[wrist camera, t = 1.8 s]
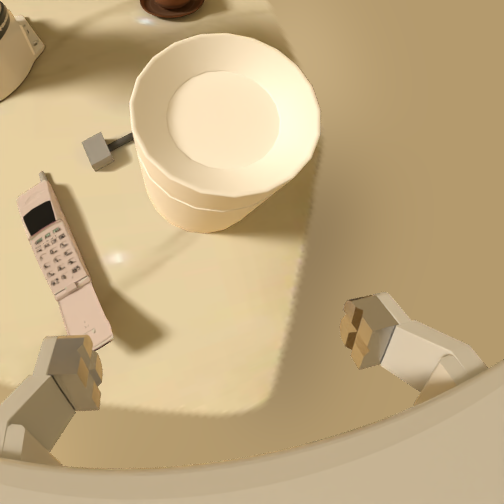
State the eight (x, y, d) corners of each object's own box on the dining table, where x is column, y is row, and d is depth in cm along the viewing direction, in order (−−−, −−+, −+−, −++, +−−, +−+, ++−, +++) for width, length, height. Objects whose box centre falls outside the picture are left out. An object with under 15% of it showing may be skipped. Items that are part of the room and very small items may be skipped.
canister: (129, 215, 40) (98, 165, 21) (167, 111, 43) (171, 16, 23) (244, 247, 44) (302, 224, 25) (271, 142, 46) (332, 68, 27)
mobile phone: (76, 361, 32) (-1, 179, 31) (88, 351, 38) (16, 191, 37) (117, 338, 34) (35, 155, 33) (124, 331, 39) (49, 170, 38)
